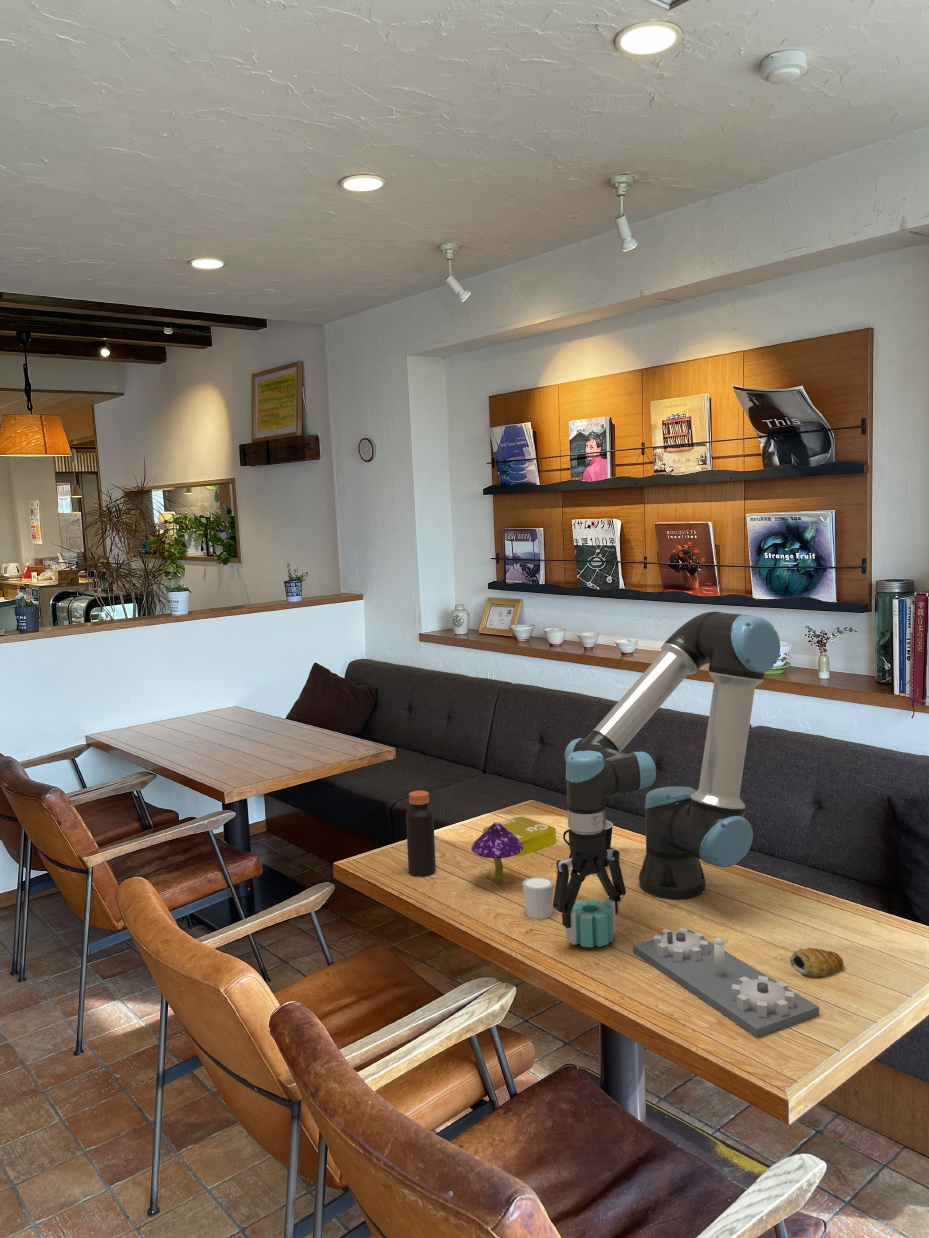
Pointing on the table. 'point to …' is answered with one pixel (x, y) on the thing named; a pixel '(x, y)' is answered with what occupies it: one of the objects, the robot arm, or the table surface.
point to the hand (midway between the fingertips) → (591, 935)
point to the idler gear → (593, 923)
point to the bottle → (420, 835)
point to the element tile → (530, 833)
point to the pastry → (816, 962)
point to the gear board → (725, 981)
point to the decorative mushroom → (497, 846)
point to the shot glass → (538, 897)
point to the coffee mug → (608, 838)
